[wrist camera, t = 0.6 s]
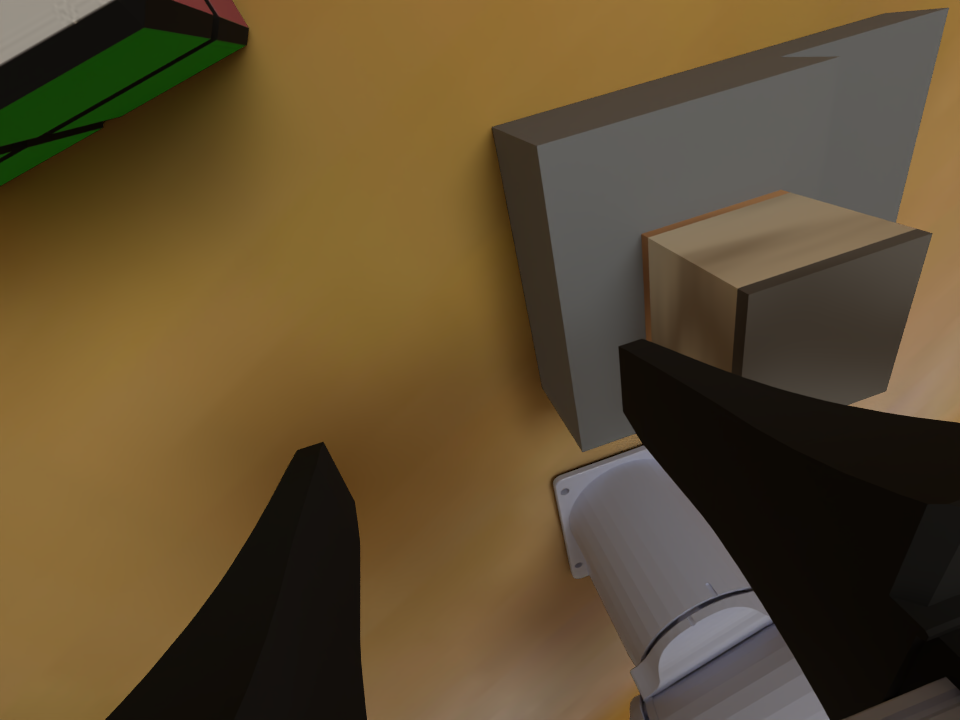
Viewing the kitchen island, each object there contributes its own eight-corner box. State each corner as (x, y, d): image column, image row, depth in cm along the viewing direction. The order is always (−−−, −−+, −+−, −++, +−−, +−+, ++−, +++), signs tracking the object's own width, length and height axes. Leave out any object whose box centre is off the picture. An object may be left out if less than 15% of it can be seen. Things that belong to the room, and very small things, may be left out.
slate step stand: (832, 289, 26) (923, 331, 22) (542, 388, 24) (582, 452, 20) (885, 13, 19) (1029, 0, 15) (492, 126, 18) (536, 146, 14)
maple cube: (766, 319, 19) (885, 391, 15) (646, 360, 19) (735, 445, 15) (780, 189, 16) (932, 233, 12) (641, 233, 16) (748, 294, 12)
